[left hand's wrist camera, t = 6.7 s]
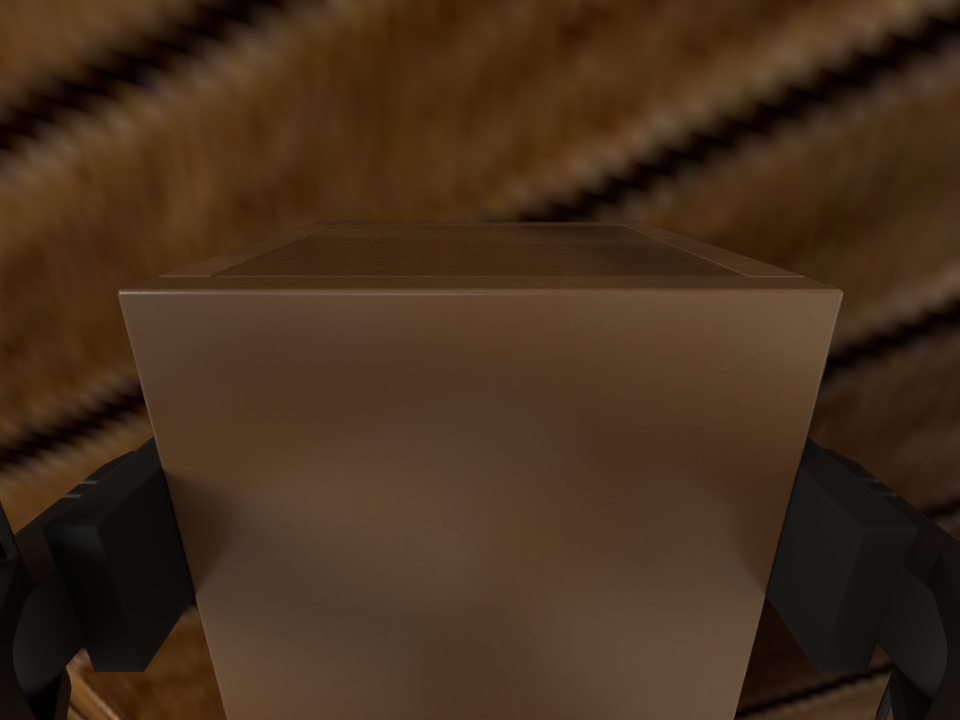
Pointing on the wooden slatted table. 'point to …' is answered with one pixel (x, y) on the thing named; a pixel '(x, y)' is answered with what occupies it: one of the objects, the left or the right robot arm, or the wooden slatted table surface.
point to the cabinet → (480, 464)
